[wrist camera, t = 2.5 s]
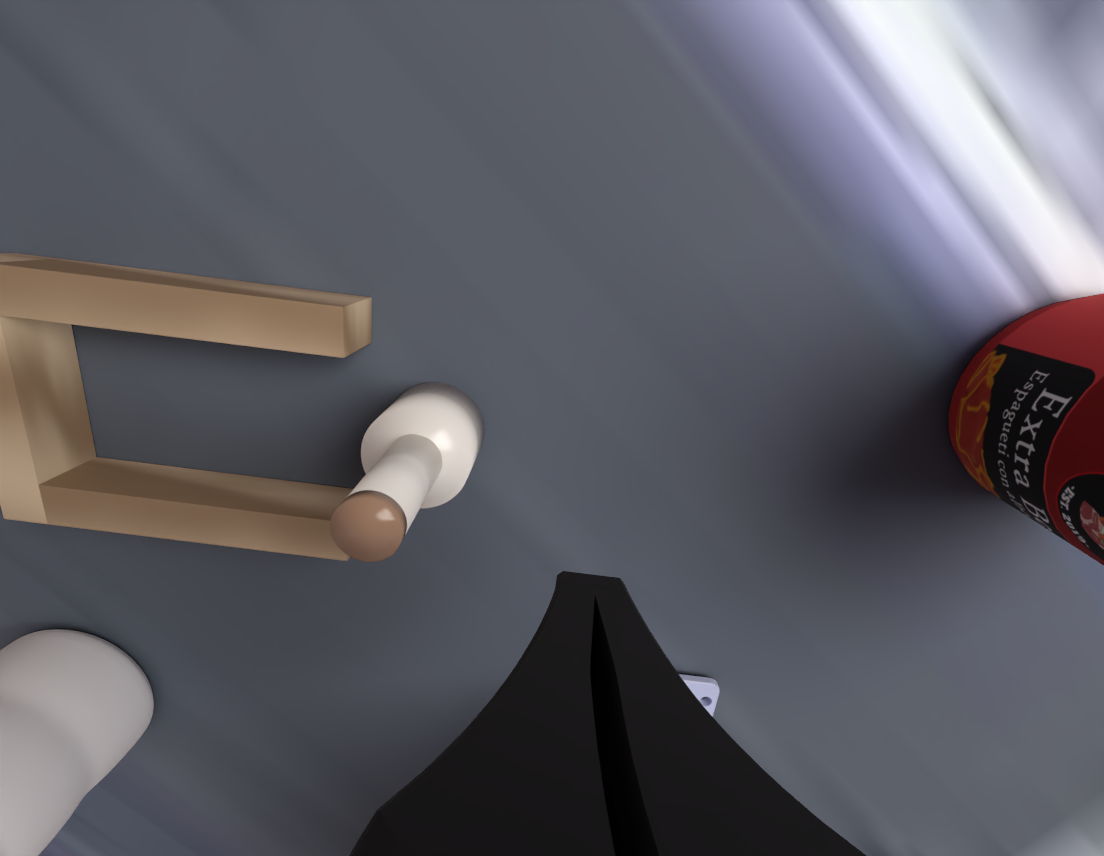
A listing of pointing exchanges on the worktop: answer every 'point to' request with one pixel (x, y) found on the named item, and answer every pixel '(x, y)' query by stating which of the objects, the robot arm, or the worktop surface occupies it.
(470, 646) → the worktop surface
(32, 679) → the water bottle
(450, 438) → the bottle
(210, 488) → the cradle
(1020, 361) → the canned food
